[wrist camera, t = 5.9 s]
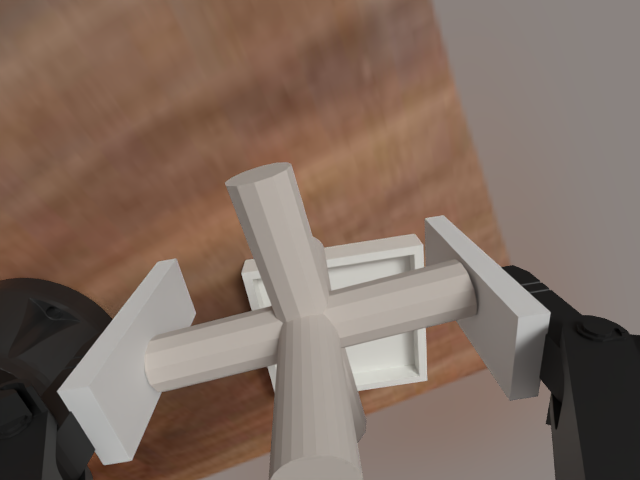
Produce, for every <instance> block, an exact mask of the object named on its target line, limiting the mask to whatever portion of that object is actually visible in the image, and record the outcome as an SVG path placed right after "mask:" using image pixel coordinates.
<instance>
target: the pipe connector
mask: <svg viewBox="0 0 640 480" xmlns="http://www.w3.org/2000/svg"><path fill="white" fill-rule="evenodd" d="M225 184H226V187H227V190H228V192H229V195H230V198H231V200H232V203H233V205H234V208H235V211H236V213H237V216H238V219H239V221H240V224H241V226H242V229H243V232H244V234H245V237H246V239H247V242H248V245H249V247H250V250H251V253H252V255H253V258H254V260H255V263H256V266H257V268H258V271H259V274H260V276H261V279H262V281H263V284H264V287H265V289H266V292H267V295H268V297H269V300H270V302H271V305H272V306H269V307H265V308H261V309H257V310H253V311H249V312H245V313H241V314H237V315H234V316H230V317H226V318H222V319H218V320H214V321H210V322H206V323H202V324H198V325H194V326H190V327H186V328H182V329H178V330H174V331H170V332H167V333H163V334H159V335H155V336H154V337H153V338H152V339H151V340H150V341H149V343H148V346H147V349H146V352H145V355H144V364H145V373H146V376H147V378H148V381H149V384H150V385H151V386H152V387H153V388H154V389H155V390H156V391H157V392H165V391H170V390H174V389H178V388H182V387H186V386H190V385H194V384H198V383H202V382H206V381H211V380H215V379H219V378H223V377H227V376H231V375H235V374H239V373H243V372H247V371H251V370H255V369H259V368H264V367H268V366H272V365H276V364H277V369H276V384H275V398H274V412H273V426H272V441H271V455H270V470H269V480H363V475H362V469H361V463H360V457H359V451H358V445H357V443H358V442H359V440H360V439H361V438H362V436H363V435H364V433H365V431H366V418H365V414H364V411H363V407H362V404H361V401H360V397H359V394H358V390H357V387H356V384H355V380H354V377H353V373H352V370H351V366H350V363H349V360H348V356H347V353H346V349H345V347H349V346H353V345H357V344H361V343H365V342H370V341H374V340H378V339H382V338H386V337H390V336H394V335H398V334H402V333H406V332H410V331H414V330H419V329H423V328H427V327H431V326H435V325H439V324H443V323H447V322H451V321H455V320H459V319H463V318H467V317H472V316H474V315H476V313H477V301H476V296H475V291H474V287H473V285H472V282H471V280H470V277H469V275H468V273H467V271H466V270H465V268H464V267H463V265H462V263H461V262H459V261H457V260H456V259H454V260H450V261H446V262H442V263H439V264H435V265H431V266H427V267H423V268H419V269H415V270H411V271H407V272H403V273H399V274H395V275H391V276H387V277H383V278H379V279H375V280H371V281H368V282H364V283H360V284H356V285H352V286H348V287H344V288H340V289H336V290H332V291H331V285H330V279H329V273H328V267H327V261H326V256H325V250H324V247H323V245H322V243H321V242H320V241H319V240H318V239H316V238H314V237H312V233H311V230H310V226H309V223H308V220H307V216H306V213H305V209H304V206H303V203H302V199H301V196H300V192H299V189H298V186H297V182H296V179H295V175H294V172H293V168H292V165H291V164H290V163H288V162H283V163H274V164H269V165H264V166H260V167H257V168H254V169H251V170H248V171H245V172H243V173H241V174H238V175H236V176H234V177H232V178H231V179H229V180H228V181H226V182H225Z"/></svg>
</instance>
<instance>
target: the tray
mask: <svg viewBox="0 0 640 480" xmlns="http://www.w3.org/2000/svg"><path fill="white" fill-rule="evenodd" d="M324 250H325V256H326V261H327V267H328V273H329V279H330V285H331V291H332V290H336V289H340V288H344V287H348V286H352V285H356V284H360V283H364V282H368V281H371V280H375V279H379V278H383V277H387V276H391V275H395V274H399V273H403V272H407V271H411V270H415V269H419V268H423V267H424V257H423V244H422V243H421V241H420V240H419V239H418V237H417V236H416V235H415V234H409V235H403V236H396V237H390V238H384V239H377V240H371V241H364V242H358V243H352V244H345V245H339V246H333V247H326V248H324ZM241 274H242V278H243V281H244V285H245V288H246V292H247V295H248V299H249V303H250V306H251V310H252V311H253V310H257V309H261V308H265V307H269V306H272V305H271V302H270V300H269V297H268V295H267V292H266V289H265V287H264V284H263V281H262V279H261V276H260V274H259V271H258V268H257V266H256V263H255V260H254V259H250V260H245V263H244V266H243V269H242V272H241ZM345 349H346V353H347V356H348V360H349V363H350V366H351V370H352V373H353V377H354V380H355V384H356V387H357V390H358V391H360V390H367V389H374V388H381V387H387V386H394V385H401V384H407V383H414V382H421V381H427V357H426V328H423V329H419V330H414V331H410V332H406V333H402V334H398V335H394V336H390V337H386V338H382V339H378V340H374V341H370V342H365V343H361V344H357V345H353V346H349V347H345ZM276 369H277V364H276V365H272V366H268V371H269V374H270V378H271V381H272V385H273V389H274V392H275V384H276Z"/></svg>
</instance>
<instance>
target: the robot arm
mask: <svg viewBox="0 0 640 480" xmlns="http://www.w3.org/2000/svg"><path fill="white" fill-rule="evenodd" d="M425 250H426V267H427V266H431V265H435V264H439V263H442V262H446V261H450V260H454V259H456V260H457V261H459V262H461V263H462V265H463V267H464V268H465V270H466V271H467V273H468V275H469V277H470V280H471V282H472V285H473V287H474V291H475V296H476V301H477V313H476V315H474V316H472V317H467V318H463V319H459V320H456V321H457V323H458V324H459V326H460V327H461V329H462V330H463V332H464V333H465V335H466V336H467V338H468V339H469V341H470V342H471V344H472V345H473V347H474V348H475V350H476V351H477V353H478V354H479V356H480V357H481V359H482V360H483V362H484V363H485V365H486V366H487V368H488V369H489V371H490V372H491V374H492V375H493V376H494V378H495V380H496V381H497V383H498V384H499V386H500V387H501V388H502V390H503V391H504V393H505V394H506V396H507V397H508V399H509V400H510V401H511V400H517V399H523V398H530V397H536V396H538V393H539V387H540V380H542V382H543V383H544V384H545V385H546V386H547V387H548V389H549V390H550V391H551V397H550V403H549V408H548V414H547V420H546V424H548V425H551V430H552V441H553V454H554V467H555V479H556V480H640V335H631V334H629V333H628V331H627V330H625V329H624V328H623V327H621V326H620V325H618V324H617V323H614V322H612V321H609V320H607V319H605V318H600V317H596V316H590V315H581V314H580V313H579V312H578V311H577V310H575V309H574V308H573V307H572V306H570V305H569V304H568V303H567V302H565V301H564V300H563V299H562V298H560V297H559V296H558V295H557V294H556V293H554V292H553V291H552V290H549V288H548V287H547V286H546V285H544V284H543V283H540V280H538V279H537V278H536V277H534V276H533V275H532V274H531V273H530V272H528V271H526V270H523V269H521V268H519V267H516V266H514V265H512V266H505V267H500V266H499V265H498V264H497V263H496V262H494V261H493V260H492V259H491V258H490V257H489V256H488V255H487V254H486V253H484V252H483V251H482V250H481V249H480V248H479V247H478V246H477V245H476V244H474V243H473V242H472V241H471V240H470V239H469V238H468V237H467V236H466V235H464V234H463V233H462V232H461V231H460V230H459V229H458V228H457V227H456V226H454V225H453V224H452V223H451V222H450V221H449V220H448V219H447V218H446V217H444V216H443V215H442V216H436V217H430V218H425ZM195 315H196V312H195V309H194V306H193V303H192V301H191V298H190V295H189V292H188V290H187V287H186V284H185V281H184V278H183V276H182V273H181V270H180V267H179V265H178V262H177V259H171V260H165V261H159V262H157V263H156V265H155V266H154V267H153V269H152V270H151V271H150V272H149V274H148V275H147V276H146V278H145V279H144V280H143V281H142V283H141V284H140V285H139V287H138V288H137V289H136V290H135V292H134V293H133V294H132V296H131V297H130V298H129V299H128V301H127V302H126V303H125V305H124V306H123V307H122V308H121V310H120V311H119V312H118V314H117V315H116V316H115V317H114V319H113V320H112V319H111V318H110V317H109V315H108V314H107V313H106V312H105V311H104V310H103V309H102V308H101V307H100V306H98V305H97V304H96V303H95V302H93V301H92V300H91V299H89V298H88V297H86V296H84V295H83V294H81V293H79V292H77V291H75V290H73V289H71V288H69V287H66V286H64V285H61V284H58V283H54V282H51V281H46V280H41V279H33V278H13V279H6V280H2V281H0V480H93V476H92V474H91V471H90V469H89V468H88V466H87V464H88V462H89V460H90V458H91V457H92V455H93V453H94V451H95V452H96V454H97V455H98V457H99V459H100V460H101V462H102V463H103V465H108V464H115V463H121V462H127V461H132V459H133V457H134V454H135V452H136V450H137V448H138V445H139V443H140V441H141V438H142V436H143V434H144V432H145V429H146V427H147V425H148V422H149V420H150V418H151V415H152V413H153V411H154V409H155V406H156V404H157V402H158V399H159V397H160V395H161V393H162V392H157V391H156V390H155V389H154V388H153V387H152V386H151V385H150V384H149V381H148V378H147V376H146V373H145V364H144V355H145V352H146V349H147V346H148V343H149V341H150V340H151V339H152V338H153V337H154V336H155V335H159V334H163V333H167V332H170V331H174V330H178V329H182V328H186V327H190V326H191V324H192V322H193V319H194V317H195Z"/></svg>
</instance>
